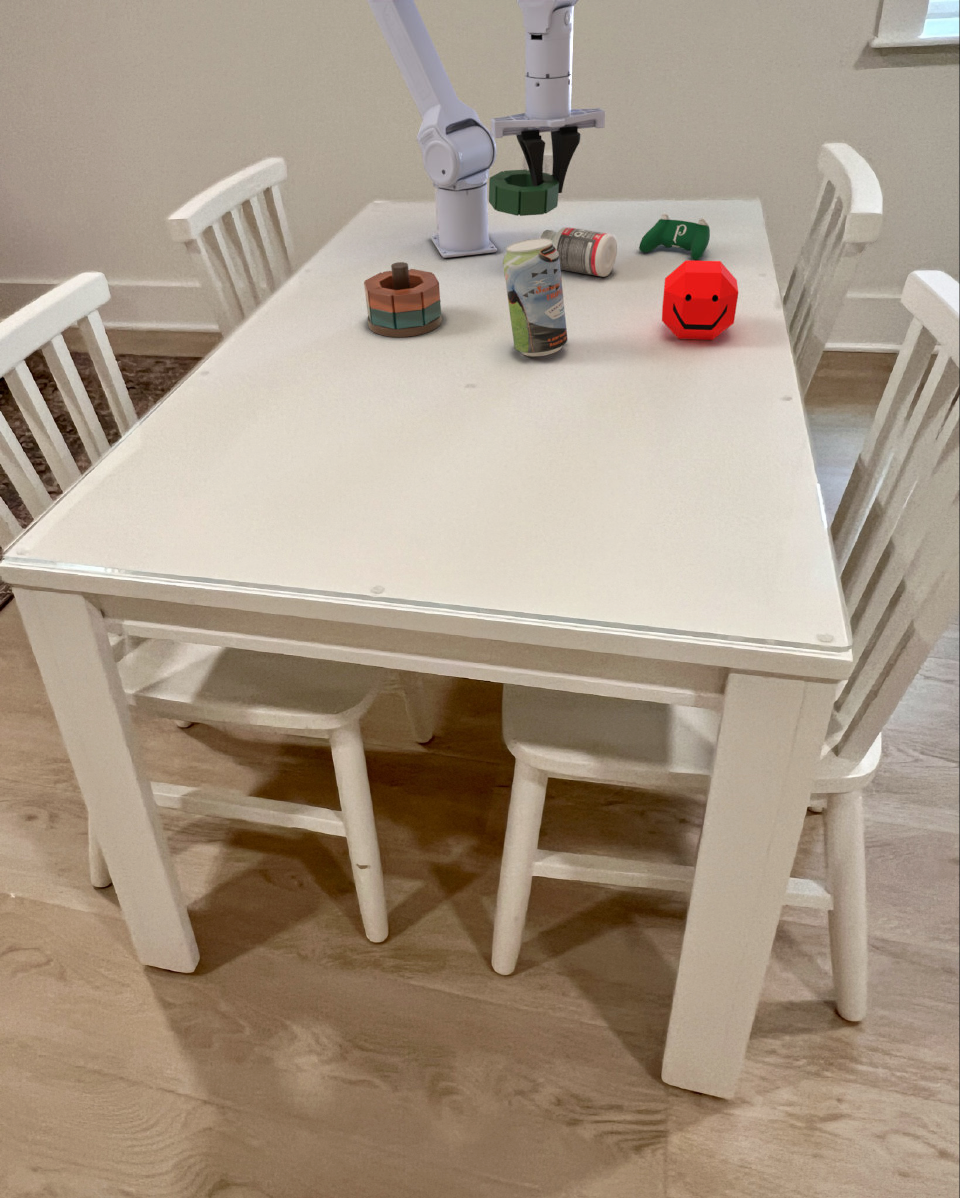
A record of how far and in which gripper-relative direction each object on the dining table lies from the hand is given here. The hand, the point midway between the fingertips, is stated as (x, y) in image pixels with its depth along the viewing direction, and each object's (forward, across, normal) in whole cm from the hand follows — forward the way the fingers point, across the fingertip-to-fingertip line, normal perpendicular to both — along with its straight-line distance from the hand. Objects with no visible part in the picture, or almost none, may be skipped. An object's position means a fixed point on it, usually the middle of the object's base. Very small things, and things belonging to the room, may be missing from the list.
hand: (547, 192), depth 117 cm
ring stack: (+9, -22, -14) cm, 28 cm away
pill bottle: (+7, +6, -8) cm, 12 cm away
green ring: (+1, -3, 0) cm, 4 cm away
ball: (+10, +9, -28) cm, 31 cm away
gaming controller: (+10, +19, -2) cm, 21 cm away
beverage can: (+10, -10, -27) cm, 30 cm away
